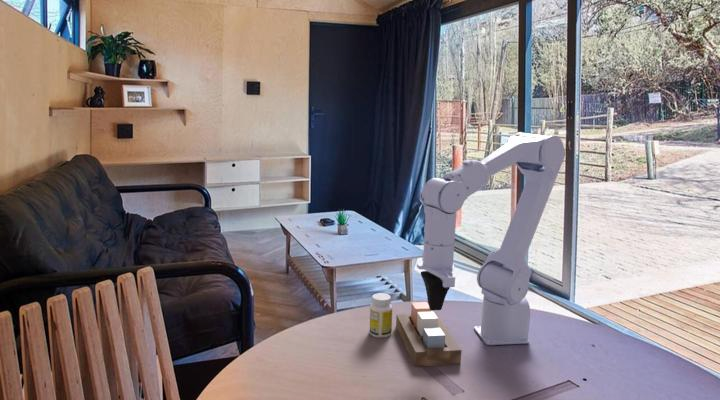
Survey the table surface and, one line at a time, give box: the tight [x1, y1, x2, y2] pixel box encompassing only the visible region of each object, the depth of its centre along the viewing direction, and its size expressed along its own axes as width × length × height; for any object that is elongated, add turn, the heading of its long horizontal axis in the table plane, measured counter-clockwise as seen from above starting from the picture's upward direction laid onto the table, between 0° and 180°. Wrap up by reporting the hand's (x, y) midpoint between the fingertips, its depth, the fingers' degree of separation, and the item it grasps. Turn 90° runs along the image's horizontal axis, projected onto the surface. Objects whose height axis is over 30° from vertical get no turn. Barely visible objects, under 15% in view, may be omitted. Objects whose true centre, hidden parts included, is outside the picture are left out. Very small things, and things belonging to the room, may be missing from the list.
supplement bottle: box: [369, 292, 393, 338], centre depth 111 cm, size 5×5×8 cm
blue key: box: [423, 328, 445, 348], centre depth 102 cm, size 3×3×4 cm
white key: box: [417, 310, 438, 336], centre depth 107 cm, size 3×3×4 cm
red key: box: [410, 301, 432, 325], centre depth 112 cm, size 3×3×4 cm
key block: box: [395, 312, 462, 368], centre depth 107 cm, size 9×17×3 cm, turn 9°
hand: (435, 308), depth 101 cm, fingers closed
